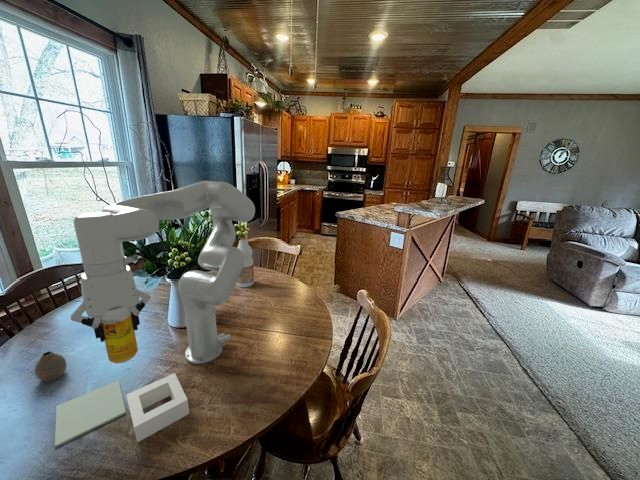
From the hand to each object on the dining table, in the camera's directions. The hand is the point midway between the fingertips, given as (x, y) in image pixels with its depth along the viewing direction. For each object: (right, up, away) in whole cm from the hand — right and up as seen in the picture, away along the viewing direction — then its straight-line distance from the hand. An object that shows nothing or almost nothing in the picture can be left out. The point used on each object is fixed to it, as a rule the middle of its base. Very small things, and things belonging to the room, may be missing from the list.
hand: (119, 332), depth 66 cm
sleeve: (+5, -25, +8) cm, 26 cm away
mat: (-13, -24, +7) cm, 28 cm away
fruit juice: (+8, -2, +84) cm, 84 cm away
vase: (-34, -20, +18) cm, 43 cm away
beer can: (0, -7, +2) cm, 7 cm away
